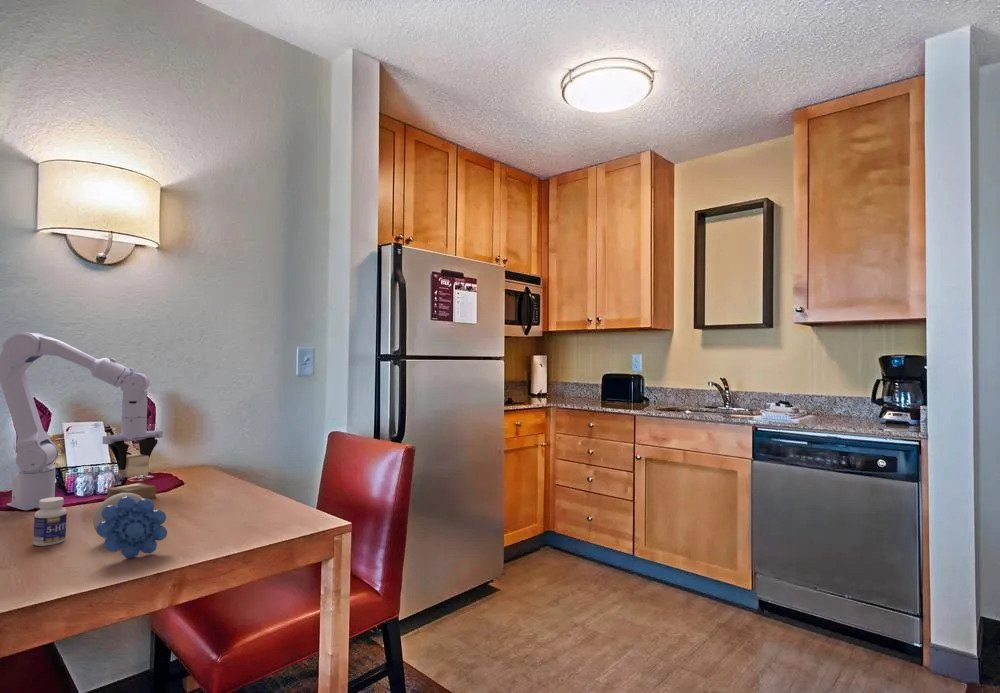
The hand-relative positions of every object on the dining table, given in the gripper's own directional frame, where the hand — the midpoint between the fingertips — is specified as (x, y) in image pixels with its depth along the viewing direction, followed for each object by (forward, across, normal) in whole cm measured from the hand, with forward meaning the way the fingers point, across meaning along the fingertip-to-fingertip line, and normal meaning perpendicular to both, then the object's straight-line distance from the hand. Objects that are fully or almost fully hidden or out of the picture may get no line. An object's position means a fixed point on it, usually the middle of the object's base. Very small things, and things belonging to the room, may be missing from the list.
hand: (132, 467), depth 150 cm
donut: (+9, -20, -32) cm, 39 cm away
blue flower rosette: (+9, -25, -45) cm, 52 cm away
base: (+8, 0, 0) cm, 8 cm away
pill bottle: (+9, -28, -21) cm, 36 cm away
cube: (+2, 0, 0) cm, 2 cm away
